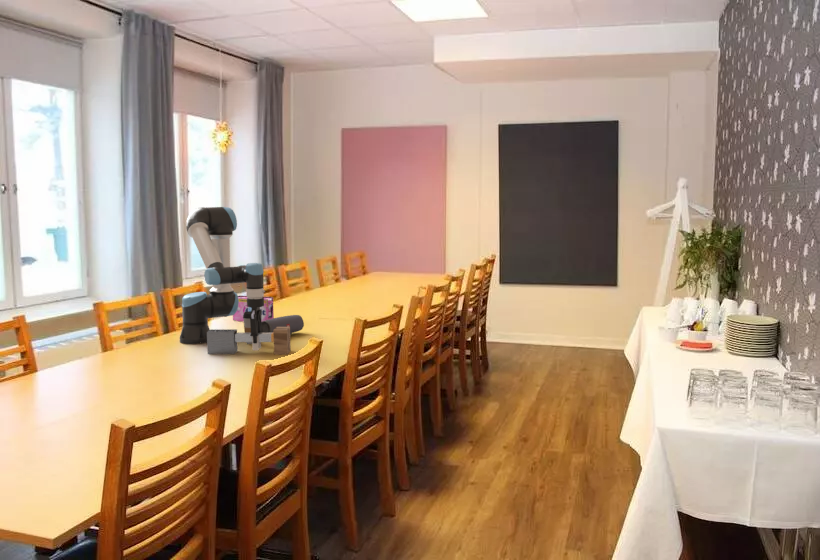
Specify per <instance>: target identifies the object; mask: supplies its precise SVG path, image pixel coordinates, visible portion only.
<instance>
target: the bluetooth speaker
mask: <svg viewBox="0 0 820 560" xmlns="http://www.w3.org/2000/svg"><path fill="white" fill-rule="evenodd" d="M302 317H303V316H301V315H300V314H290V315H285V316H284V315H283V316H278V317H274V318H273V319H269V320H265V321H262V331H261V332H262V333H273V330H274V329H275V328H276V327H290V336H292V334H294V333H297V332H300V331H302V330H303V329H304V326H305V323H304V319H303V318H302Z"/></svg>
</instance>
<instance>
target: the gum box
mask: <svg viewBox="0 0 820 560" xmlns="http://www.w3.org/2000/svg"><path fill="white" fill-rule="evenodd" d="M247 298H248V297H247V295H238V299H239V304H238V309H237V311H236V313H235V314H234V315H232V321H233V320H236V321H235V322H244V319H243V315H244V312H249V311H251V310H252V308H251V307H248V306H247ZM262 298H264V306H263V307H260V310H262V314H261V320H262V321H265V320H269V319H273V318H275V317H274V297H271V296H263V297H262Z"/></svg>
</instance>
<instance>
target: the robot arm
mask: <svg viewBox="0 0 820 560" xmlns="http://www.w3.org/2000/svg"><path fill="white" fill-rule="evenodd" d="M237 227H238V220H237V216H236V213H235V211H234V209H232V208H231V207H226V206H215V207H212V206H211V207H204V206H203V207H198V208H195V209H194V210H192V211H191V212H190V213H189V214H188V216H187V219H186V223H185V229H186V231H187V235H189V237H190V238H192V239H193V242H194V244H195V246H196V249H197V251H198V253H199V256H200V258H201V260H202V262H203V265H204V267H205V268H206V269H205V270H204V282H205V284H207V285H209V286H212V287H211V288H210V289H209V294H207V292H206V291H197V292H191V293H187V294H185V295H184V296H182V298H181V309H182V311H181V313H182V328H181V331H180V334H179V342H180V343H181V344H187V345H188V344H193V345H194V344H195V345H197V344H204V343H207V332H208V331H209V330H211V329H210V327H209V322H208V319H212V318H213V319H215V318H223V317H224V318H225V317H226V318H227V317H231V316H232V317H233V315H234V314H235V313H236V311H237V309H238V304H239V299H238V296H239V295H238V293H237V292H235V289H234V288H233V287H232V286H231V284H242V283H245V284H246V286H245V287H246V288H245V289H246V296H247V297H248V298H247V306H248V307H251V308H252V310H251V312H250V326H251V335H250V336H252V345H251V346H252V347H251V348H252V351H259V350H260V349H261V348H262V342H259V336H258V333H262V332H261V331H262V320H261V314H262V310H260V307H263V306H264V298H262V297H265V293H266V290H264V272H265V271H264V265H263V263H260V262H249V263H246V265H245V264H243V265H238V266H231V249H230V248H231V247H230V245H231V244H230V241H231V240H230V239H231V237H232V236H233V235H234V234H233V232H234V231H236V230H237V229H238V228H237Z"/></svg>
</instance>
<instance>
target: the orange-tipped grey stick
mask: <svg viewBox="0 0 820 560" xmlns="http://www.w3.org/2000/svg"><path fill="white" fill-rule="evenodd" d="M250 335H251V333H245V332H237V333H234V342H237V343H246V342H252V336H250ZM258 336H259V342H261V343H274V334H273V333H258Z"/></svg>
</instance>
